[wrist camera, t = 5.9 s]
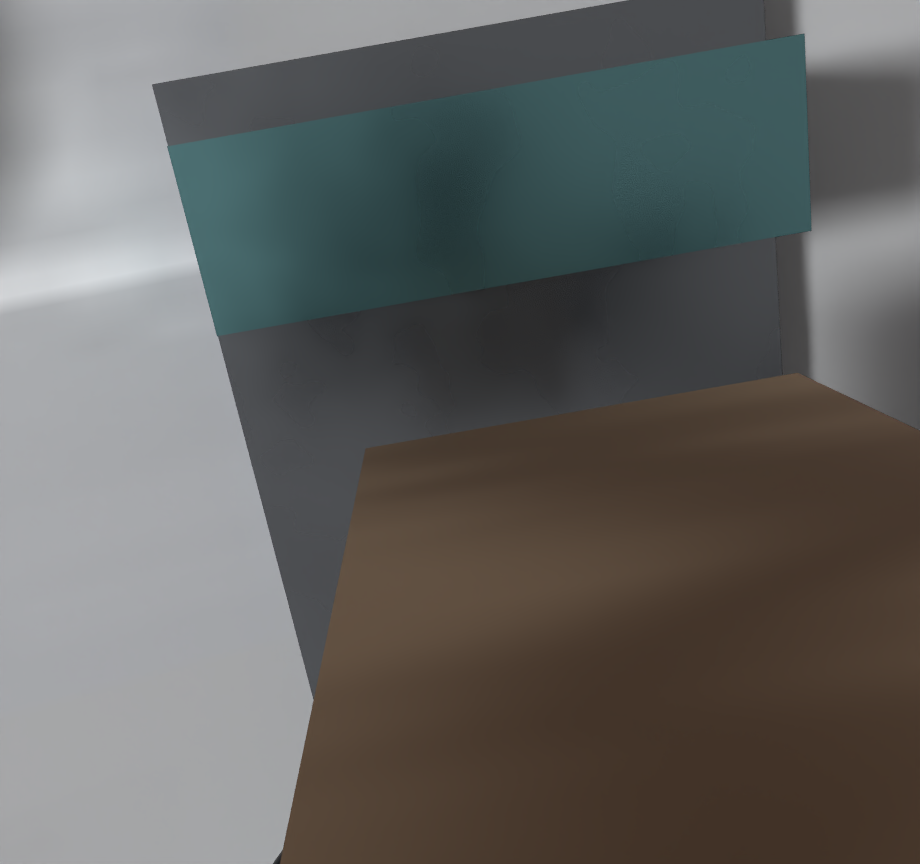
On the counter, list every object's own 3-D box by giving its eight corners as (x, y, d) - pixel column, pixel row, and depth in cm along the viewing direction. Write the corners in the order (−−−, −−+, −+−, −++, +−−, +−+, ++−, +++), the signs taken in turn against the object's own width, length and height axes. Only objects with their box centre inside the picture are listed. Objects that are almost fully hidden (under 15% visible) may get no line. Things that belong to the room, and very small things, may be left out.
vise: (792, 889, 23) (882, 1054, 19) (391, 960, 23) (386, 1144, 19) (742, -11, 16) (866, -88, 12) (167, 91, 16) (73, 52, 12)
